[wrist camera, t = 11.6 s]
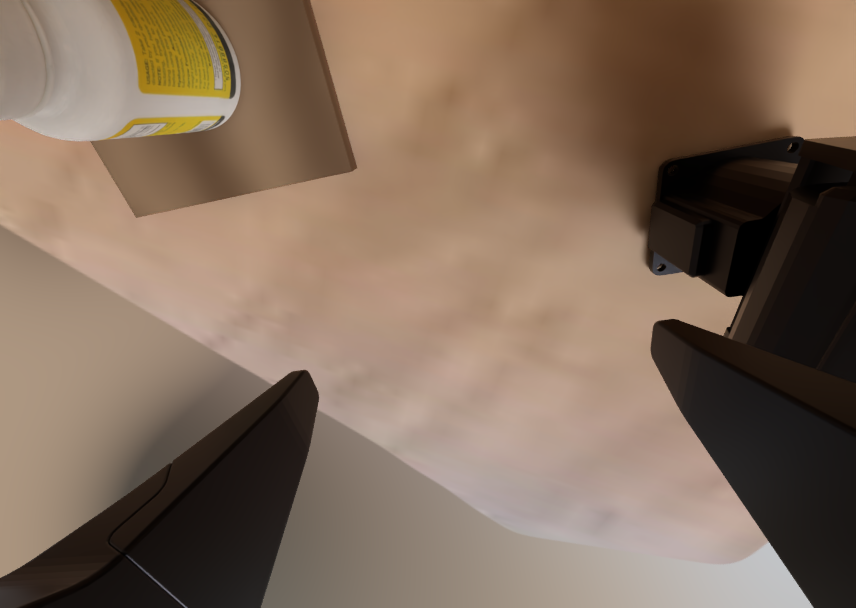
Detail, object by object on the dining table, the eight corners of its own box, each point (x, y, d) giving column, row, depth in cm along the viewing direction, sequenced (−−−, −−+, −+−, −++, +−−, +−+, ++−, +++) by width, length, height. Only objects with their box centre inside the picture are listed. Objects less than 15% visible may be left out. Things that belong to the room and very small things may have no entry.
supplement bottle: (149, -44, 15) (-271, -260, 6) (265, 59, 16) (60, 5, 8) (109, 73, 17) (-243, 36, 8) (215, 155, 18) (11, 196, 10)
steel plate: (287, -81, 15) (274, -96, 14) (357, 167, 19) (351, 171, 18) (31, 2, 17) (3, -5, 16) (151, 212, 21) (136, 217, 20)
